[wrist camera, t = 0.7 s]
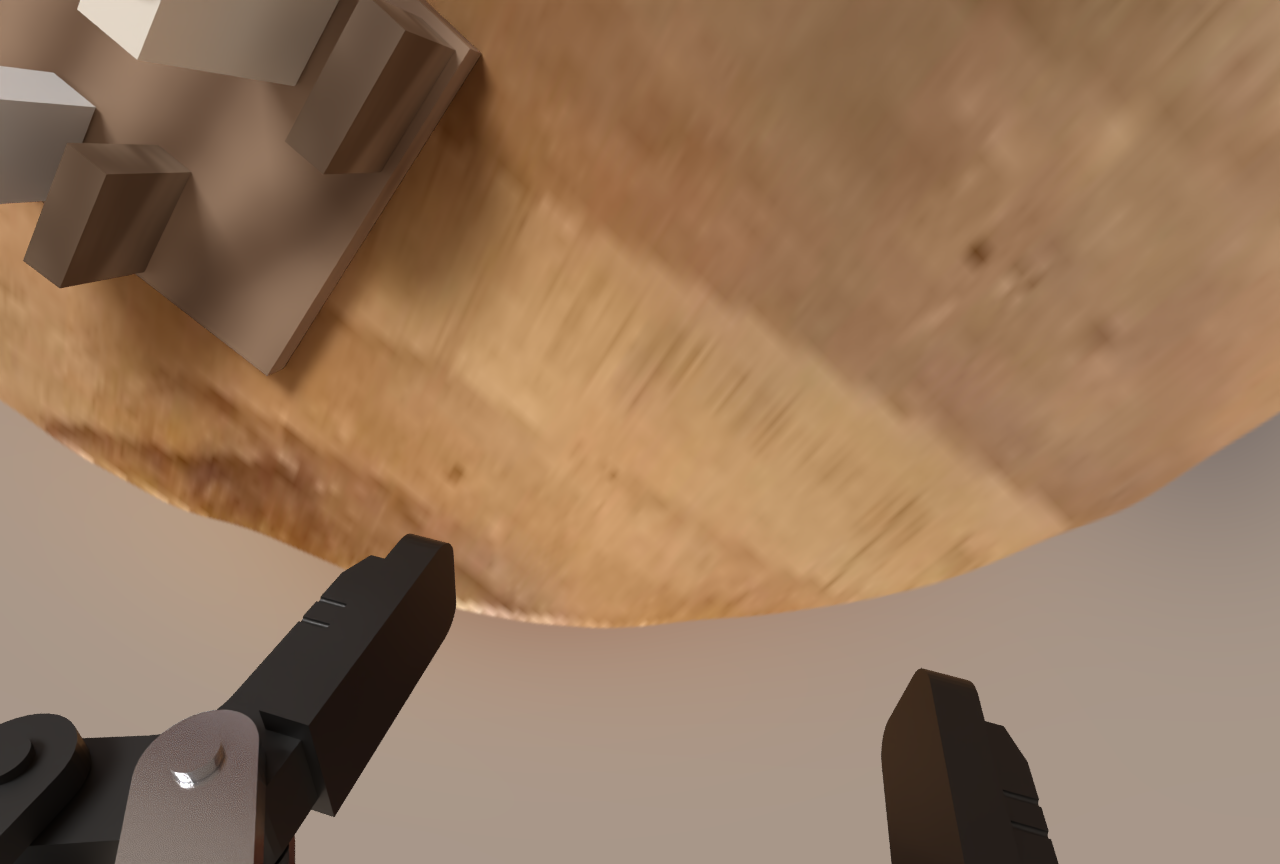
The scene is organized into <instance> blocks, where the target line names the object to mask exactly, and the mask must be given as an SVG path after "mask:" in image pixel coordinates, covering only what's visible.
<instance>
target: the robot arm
mask: <svg viewBox="0 0 1280 864" xmlns="http://www.w3.org/2000/svg"><path fill="white" fill-rule="evenodd" d="M455 609H456V591H455V573H454V555H453V548H452V546H451V544H449V543H445V542H441V541H437V540H433V539H430V538H426V537H422V536H418V535H414V534H407V535H405V536H404V537H403V538H402V539H401V540H400V541H399V542H398V543H397V545H396V546H395V547H394V548H393V549H392V551H391V552H390V553H389V554H388V555H387V557H386V558H385V559H384V558H380V557H376V556H372V555H371V556H369V557H367V558H366V559H364V560H362V561H361V562H359V563H357V564H356V565H354V566H352V567H351V568H349V569H347V570H346V571H344V572H342V573H341V574H340V576H339V577H338V578H337V579H336V580H335V581H334V582H333V583H332V585H331V586H330V587H329V588H328V589H327V590H326V591H325V593H324V594H323V595H322V596H321V599H320V601H319V602H315V604H314V605H313V606H312V607H311V608H310V609H309V610H308V611H307V613H306V614H305V615H304V616H303V620H302V621H301V622H298V623H297V624H296V625H295V626H294V627H293V628H292V629H291V631H290V632H289V633H288V634H287V635H286V636H285V637H284V638H283V640H282V641H281V642H280V643H279V644H278V645H277V646H276V647H275V648H274V650H273V651H272V652H271V653H270V654H269V655H268V656H267V657H266V659H265V660H264V661H263V662H262V663H261V664H260V665H259V666H258V668H257V669H256V670H255V671H254V672H253V673H252V675H251V676H249V678H248V679H247V680H246V681H245V682H244V683H243V684H242V686H241V687H240V688H239V689H238V690H237V691H236V692H235V693H234V694H233V696H232V697H231V698H230V699H229V700H228V701H227V702H226V703H224V704H223V705H222V706H221V707H219V708H218V709H217V710H212V711H207V712H202V713H199V714H197V715H193V716H191V717H188V718H186V719H184V720H182V721H180V722H178V723H177V724H175V725H173V726H172V727H170V728H169V729H167V730H166V731H165V732H163V733H162V734H159V735H150V736H127V737H104V738H82V737H81V736H80V734H79V733H78V731H77V729H76V728H75V726H74V725H73V724H72V722H71V721H69V720H68V719H67V718H65V717H62V716H60V715H55V714H34V715H27V716H24V717H19V718H16V719H13V720H10V721H7V722H5V723H2V724H0V864H295V833H296V832H297V830H298V829H299V827H300V826H301V824H302V822H303V821H304V819H305V818H306V816H307V815H308V813H309V812H310V810H314V811H318V812H320V813H324V814H326V815H330V816H333V817H335V815H336V814H337V812H338V810H339V809H340V807H341V805H342V804H343V802H344V801H345V799H346V797H347V796H348V794H349V793H350V791H351V789H352V788H353V786H354V784H355V783H356V781H357V779H358V778H359V776H360V775H361V773H362V772H363V770H364V768H365V767H366V765H367V763H368V762H369V760H370V759H371V757H372V755H373V754H374V752H375V751H376V749H377V747H378V746H379V744H380V742H381V740H382V739H383V738H384V736H385V734H386V733H387V731H388V729H389V728H390V726H391V725H392V723H393V721H394V720H395V718H396V717H397V715H398V713H399V711H400V710H401V708H402V707H403V705H404V704H405V702H406V700H407V699H408V697H409V695H410V694H411V692H412V691H413V689H414V687H415V686H416V684H417V682H418V681H419V679H420V678H421V676H422V674H423V673H424V671H425V670H426V668H427V666H428V665H429V663H430V662H431V660H432V658H433V657H434V655H435V653H436V652H437V650H438V649H439V647H440V645H441V644H442V642H443V640H444V639H445V637H446V635H447V633H448V631H449V629H450V627H451V624H452V621H453V618H454V614H455ZM881 760H882V772H883V782H884V792H885V802H886V812H887V821H888V831H889V842H890V851H891V862H892V864H1058V861H1057V857H1056V854H1055V851H1054V847H1053V845H1052V841H1051V839H1048V828H1047V824H1046V821H1045V818H1044V815H1043V811H1042V808H1041V807H1039V806H1038V800H1039V798H1038V795H1037V792H1036V789H1035V785H1034V782H1033V778H1032V775H1031V772H1030V769H1029V765H1028V762H1027V760H1026V759H1025V758H1024V756H1023V755H1022V753H1021V752H1020V750H1019V749H1018V747H1017V746H1016V744H1015V743H1014V741H1013V740H1012V738H1011V737H1010V735H1009V734H1008V732H1007V731H1006V729H1005V728H1004V726H1001V725H997V724H993V723H989V722H986V721H985V720H984V716H983V713H982V708H981V705H980V701H979V697H978V693H977V690H976V688H975V686H974V685H973V683H972V682H970V681H968V680H965V679H961V678H957V677H953V676H949V675H945V674H942V673H937V672H934V671H930V670H926V669H922V668H921V669H918V670H917V671H916V672H915V674H914V675H913V677H912V679H911V681H910V683H909V685H908V686H907V688H906V690H905V691H904V693H903V695H902V697H901V699H900V700H899V702H898V704H897V706H896V708H895V709H894V711H893V713H892V715H891V716H890V718H889V720H888V722H887V724H886V727H885V731H884V735H883V741H882V751H881Z"/></svg>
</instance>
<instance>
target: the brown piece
mask: <svg viewBox="0 0 1280 864" xmlns="http://www.w3.org/2000/svg"><path fill="white" fill-rule="evenodd" d="M79 2H80V0H0V66H5V67H13V68H20V69H28V70H36V71H44V72H52V73H55V74H56V75H57V76H58V77H59V78H61V79H62V80H63V81H64V82H66V83H67V84H68V85H69V86H70V87H72V88H73V89H74V90H75V91H77V92H78V93H79V94H80V95H82V96H83V97H84V98H85V99H86V100H88V101H89V102H90V103H91V104H93V105H94V106H95V107H96V108H95V111H94V113H93V116H92V119H91V121H90V124H89V126H88V129H87V132H86V134H85V137H84V139H83V142H82V143H67V144H66V147H65V150H64V152H63V155H62V158H61V160H60V163H59V166H58V168H57V171H56V174H55V176H54V179H53V182H52V185H51V187H50V190H49V193H48V195H47V198H46V201H42V202H43V203H44V206H43V209H42V211H41V214H40V217H39V219H38V222H37V225H36V228H35V230H34V233H33V236H32V238H31V241H30V244H29V246H28V249H27V252H26V254H25V257H24V260H23V261H24V262H26V263H27V264H28V265H29V266H31V267H32V268H33V269H35V270H36V271H37V272H39V273H40V274H41V275H43V276H44V277H45V278H47V279H48V280H49V281H51V282H52V283H53V284H55V285H56V286H57V287H59V288H64V287H69V286H75V285H80V284H85V283H90V282H95V281H101V280H106V279H111V278H116V277H121V276H127V275H132V274H136V275H137V276H139V277H140V278H141V279H143V280H144V281H145V282H146V283H148V284H149V285H150V286H152V287H153V288H154V289H155V290H157V291H158V292H159V293H161V294H162V295H163V296H164V297H166V298H167V299H168V300H170V301H171V302H172V303H173V304H175V305H176V306H177V307H179V308H180V309H181V310H183V311H184V312H185V313H186V314H188V315H189V316H190V317H192V318H193V319H194V320H195V321H197V322H198V323H199V324H201V325H202V326H203V327H204V328H206V329H207V330H208V331H210V332H211V333H212V334H213V335H215V336H216V337H217V338H219V339H220V340H221V341H222V342H224V343H225V344H226V345H228V346H229V347H230V348H232V349H233V350H234V351H235V352H237V353H238V354H239V355H241V356H242V357H243V358H244V359H246V360H247V361H248V362H250V363H251V364H252V365H253V366H255V367H256V368H257V369H259V370H260V371H261V372H262V373H264V374H265V375H266V376H268V375H270V374H273V373H275V372H277V371H279V370H281V369H283V368H284V367H285V365H286V363H287V362H288V360H289V359H290V357H291V355H292V354H293V352H294V351H295V349H296V347H297V346H298V344H299V343H300V341H301V340H302V338H303V336H304V335H305V333H306V332H307V330H308V328H309V327H310V325H311V324H312V322H313V320H314V319H315V317H316V316H317V314H318V313H319V311H320V309H321V308H322V306H323V305H324V303H325V301H326V300H327V298H328V297H329V295H330V293H331V292H332V290H333V289H334V287H335V286H336V284H337V282H338V281H339V279H340V278H341V276H342V274H343V273H344V271H345V270H346V268H347V266H348V265H349V263H350V262H351V260H352V259H353V257H354V255H355V254H356V252H357V251H358V249H359V247H360V246H361V244H362V243H363V241H364V239H365V238H366V236H367V235H368V233H369V232H370V230H371V228H372V227H373V225H374V224H375V222H376V220H377V219H378V217H379V216H380V214H381V212H382V211H383V209H384V208H385V206H386V205H387V203H388V201H389V200H390V198H391V197H392V195H393V193H394V192H395V190H396V189H397V187H398V185H399V184H400V182H401V181H402V179H403V178H404V176H405V174H406V173H407V171H408V170H409V168H410V166H411V165H412V163H413V162H414V160H415V158H416V157H417V155H418V154H419V152H420V151H421V149H422V147H423V146H424V144H425V143H426V141H427V139H428V138H429V136H430V135H431V133H432V131H433V130H434V128H435V127H436V125H437V124H438V122H439V120H440V119H441V117H442V116H443V114H444V112H445V111H446V109H447V108H448V106H449V104H450V103H451V101H452V100H453V98H454V97H455V95H456V93H457V92H458V90H459V89H460V87H461V85H462V84H463V82H464V81H465V79H466V77H467V76H468V74H469V73H470V71H471V70H472V68H473V66H474V65H475V63H476V62H477V60H478V58H479V57H480V55H481V53H480V52H479V51H478V50H477V49H476V48H475V47H474V46H473V45H472V44H471V43H470V42H469V41H468V40H467V39H466V38H465V37H463V36H462V35H461V34H460V33H459V32H458V31H457V30H456V29H455V28H454V27H453V26H452V25H451V24H450V23H449V22H448V21H446V20H445V19H444V18H443V17H442V16H441V15H440V14H439V13H438V12H437V11H436V10H435V9H434V8H433V7H432V6H431V5H429V4H428V3H427V2H426V1H425V0H339V2H338V3H337V5H336V7H335V9H334V11H333V13H332V15H331V17H330V19H329V21H328V23H327V25H326V27H325V29H324V31H323V33H322V35H321V37H320V38H319V40H318V42H317V44H316V46H315V48H314V50H313V52H312V54H311V56H310V58H309V60H308V62H307V64H306V66H305V68H304V70H303V71H302V73H301V75H300V77H299V79H298V81H297V83H296V85H295V86H290V85H284V84H278V83H272V82H266V81H260V80H254V79H248V78H242V77H236V76H230V75H224V74H218V73H212V72H206V71H200V70H195V69H189V68H183V67H177V66H171V65H165V64H159V63H153V62H147V61H141V60H137V59H136V58H134V57H133V56H132V55H131V54H130V53H128V52H127V51H126V50H125V49H124V48H122V47H121V46H120V45H119V44H118V43H117V42H115V41H114V40H113V39H112V38H111V37H109V36H108V35H107V34H106V33H105V32H103V31H102V30H101V29H100V28H99V27H97V26H96V25H95V24H94V23H93V22H92V21H90V20H89V19H88V18H87V17H86V16H84V15H83V14H82V13H81V12H80V11H78V10H77V8H78V5H79Z"/></svg>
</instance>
